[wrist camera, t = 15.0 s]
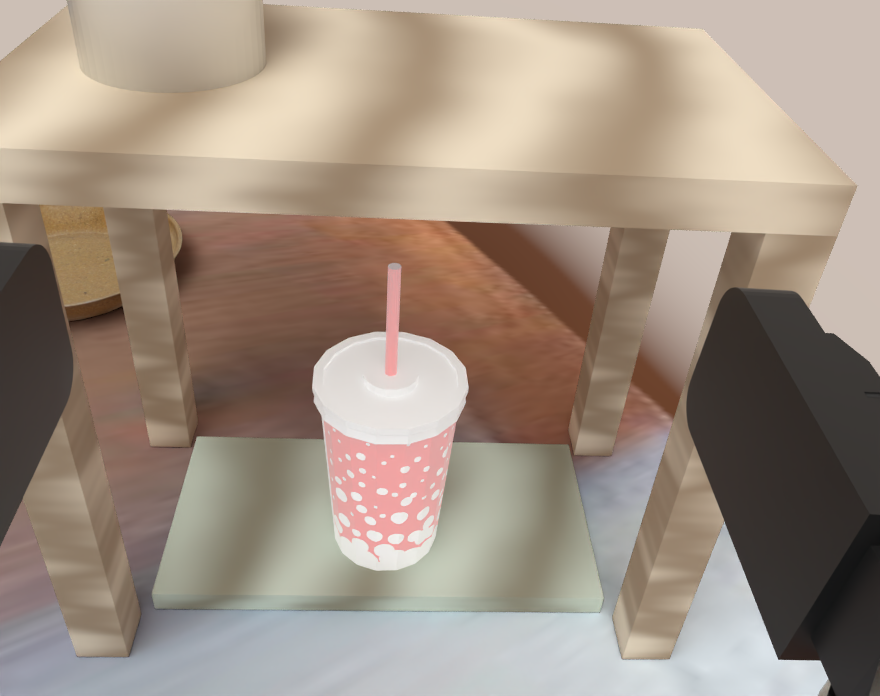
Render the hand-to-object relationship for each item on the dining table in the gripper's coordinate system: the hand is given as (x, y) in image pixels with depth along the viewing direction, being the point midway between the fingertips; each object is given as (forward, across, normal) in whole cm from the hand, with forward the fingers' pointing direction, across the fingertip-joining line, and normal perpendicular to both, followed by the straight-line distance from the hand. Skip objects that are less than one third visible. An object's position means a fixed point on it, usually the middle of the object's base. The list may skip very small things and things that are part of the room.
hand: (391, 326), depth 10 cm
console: (+18, -1, +25) cm, 30 cm away
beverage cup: (+16, -1, +24) cm, 29 cm away
